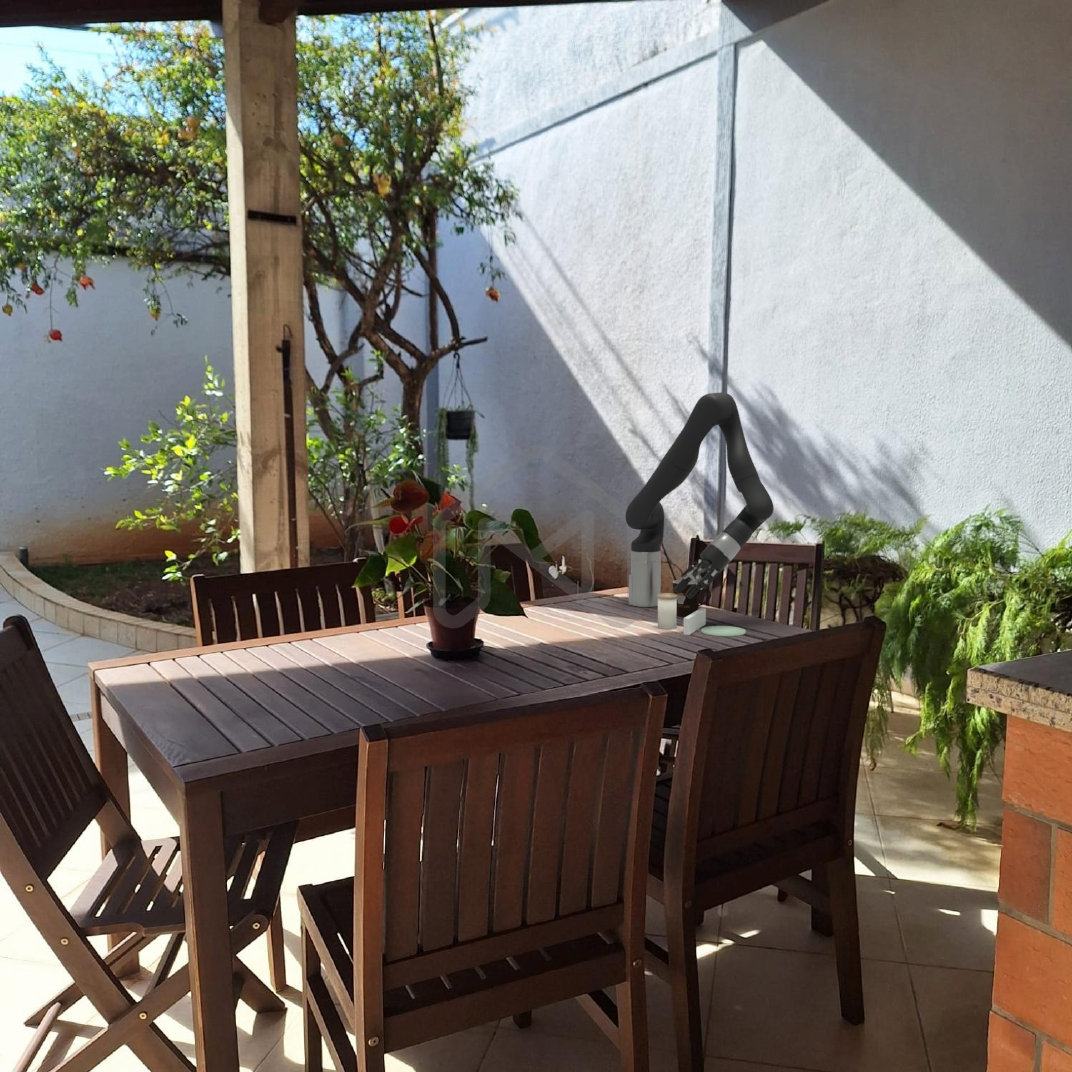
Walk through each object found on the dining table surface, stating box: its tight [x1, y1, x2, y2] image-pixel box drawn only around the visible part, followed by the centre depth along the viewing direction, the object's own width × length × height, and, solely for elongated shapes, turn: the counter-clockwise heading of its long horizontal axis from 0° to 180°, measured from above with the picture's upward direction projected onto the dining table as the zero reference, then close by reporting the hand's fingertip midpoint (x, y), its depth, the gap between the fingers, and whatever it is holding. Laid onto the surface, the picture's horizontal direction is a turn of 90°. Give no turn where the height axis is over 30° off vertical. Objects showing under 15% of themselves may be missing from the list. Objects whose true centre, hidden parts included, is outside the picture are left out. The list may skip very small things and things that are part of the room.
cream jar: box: [657, 592, 678, 630], centre depth 270 cm, size 6×6×9 cm
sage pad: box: [700, 625, 747, 637], centre depth 263 cm, size 12×12×1 cm
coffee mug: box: [671, 579, 712, 618], centre depth 285 cm, size 12×9×10 cm
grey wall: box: [683, 607, 707, 636], centre depth 266 cm, size 2×16×4 cm, turn 154°
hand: (682, 594), depth 270 cm, fingers open, 8 cm apart
